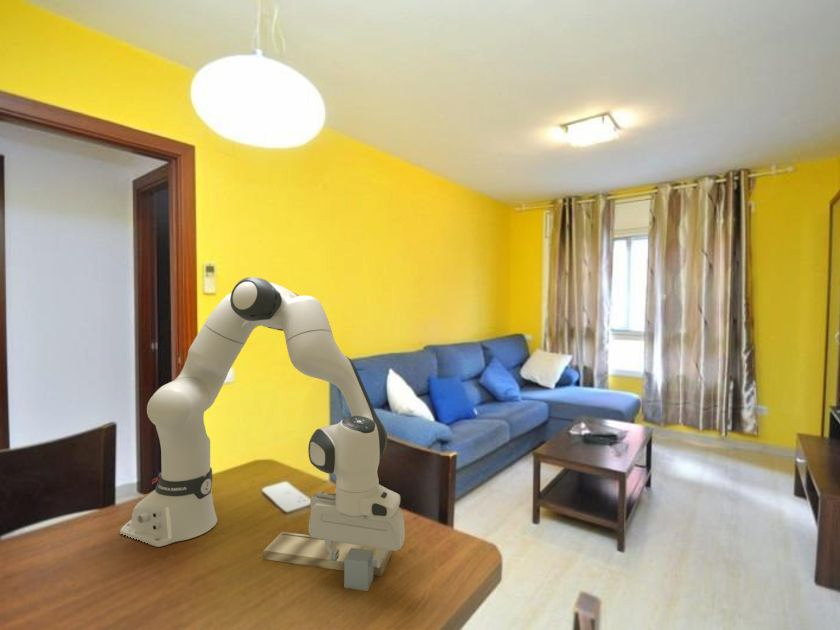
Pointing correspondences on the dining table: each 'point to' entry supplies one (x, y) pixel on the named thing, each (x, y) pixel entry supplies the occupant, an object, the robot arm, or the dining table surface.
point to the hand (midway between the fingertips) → (355, 562)
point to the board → (313, 552)
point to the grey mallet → (358, 568)
